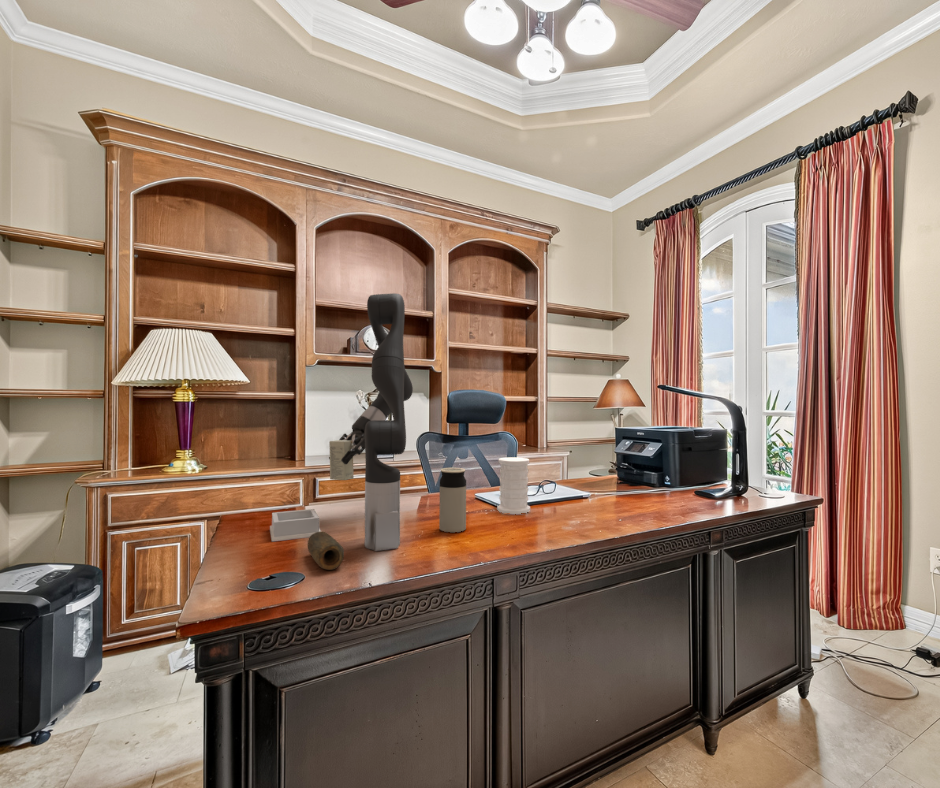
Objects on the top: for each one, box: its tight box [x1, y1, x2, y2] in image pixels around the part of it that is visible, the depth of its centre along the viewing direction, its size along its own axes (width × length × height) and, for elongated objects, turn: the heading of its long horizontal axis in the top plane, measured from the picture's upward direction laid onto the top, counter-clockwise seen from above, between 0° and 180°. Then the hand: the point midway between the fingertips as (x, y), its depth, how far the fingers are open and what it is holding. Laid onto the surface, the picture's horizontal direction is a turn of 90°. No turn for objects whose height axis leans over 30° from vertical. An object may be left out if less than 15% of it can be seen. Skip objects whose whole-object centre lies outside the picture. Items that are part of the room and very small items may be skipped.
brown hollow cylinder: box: [307, 531, 345, 571], centre depth 111 cm, size 15×7×7 cm, turn 33°
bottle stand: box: [269, 508, 322, 542], centre depth 135 cm, size 13×13×5 cm
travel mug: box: [438, 467, 467, 534], centre depth 139 cm, size 8×8×18 cm
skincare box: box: [328, 439, 354, 481], centre depth 146 cm, size 6×4×12 cm
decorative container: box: [496, 456, 531, 515], centre depth 163 cm, size 12×12×18 cm
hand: (337, 461), depth 145 cm, fingers closed on skincare box, 7 cm apart
